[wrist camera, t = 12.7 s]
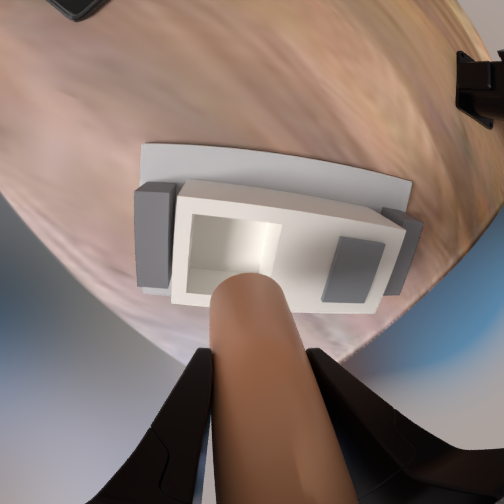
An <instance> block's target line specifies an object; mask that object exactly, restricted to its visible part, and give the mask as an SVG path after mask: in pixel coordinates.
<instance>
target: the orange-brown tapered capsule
mask: <svg viewBox="0 0 504 504" xmlns="http://www.w3.org/2000/svg"><path fill="white" fill-rule="evenodd" d="M210 349H211V350H212V371H213V381H212V398H211V423H212V424H211V425H212V447H213V464H214V479H215V491H216V504H359V501H358V498H357V495H356V492H355V489H354V486H353V483H352V480H351V477H350V474H349V471H348V468H347V465H346V463H345V460H344V457H343V454H342V451H341V448H340V445H339V442H338V440H337V437H336V434H335V431H334V428H333V425H332V423H331V420H330V417H329V414H328V411H327V409H326V406H325V403H324V400H323V398H322V395H321V392H320V389H319V387H318V384H317V381H316V378H315V376H314V373H313V370H312V367H311V365H310V362H309V359H308V357H307V354H306V351H305V348H304V346H303V343H302V340H301V338H300V335H299V332H298V330H297V327H296V324H295V322H294V319H293V316H292V314H291V311H290V308H289V306H288V303H287V301H286V298H285V295H284V293H283V290H282V288H281V287H280V285H279V284H278V283H277V282H276V281H275V280H273V279H272V278H270V277H268V276H266V275H263V274H259V273H241V274H237V275H234V276H231V277H229V278H227V279H226V280H224V281H223V282H221V283H220V284H219V285H218V286H217V287H216V289H215V290H214V292H213V294H212V296H211V299H210Z"/></svg>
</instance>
